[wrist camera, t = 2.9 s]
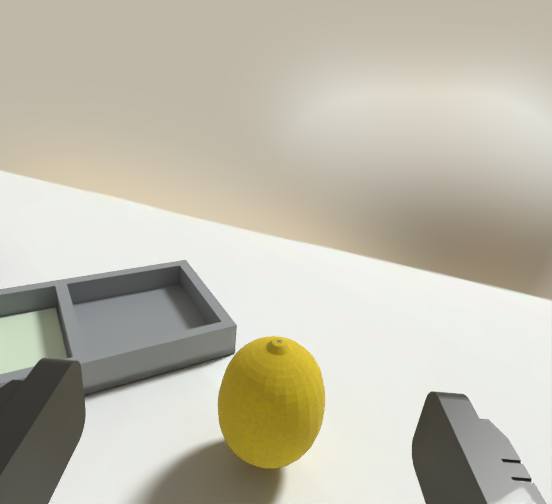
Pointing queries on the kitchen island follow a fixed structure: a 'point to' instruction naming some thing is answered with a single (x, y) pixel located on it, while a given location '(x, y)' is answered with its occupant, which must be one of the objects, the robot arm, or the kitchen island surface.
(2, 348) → the organiser tray
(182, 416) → the kitchen island surface
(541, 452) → the kitchen island surface
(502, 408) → the kitchen island surface
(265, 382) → the lemon
